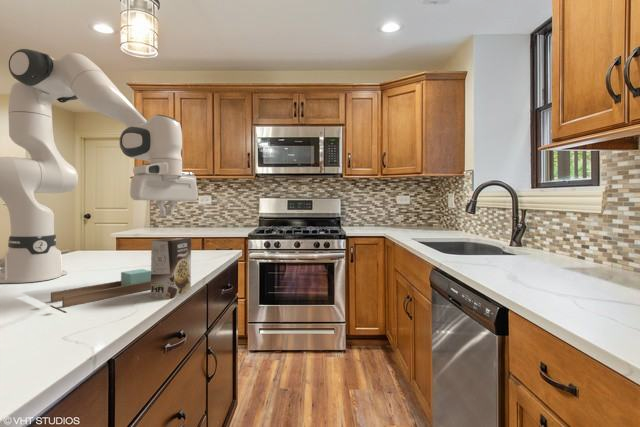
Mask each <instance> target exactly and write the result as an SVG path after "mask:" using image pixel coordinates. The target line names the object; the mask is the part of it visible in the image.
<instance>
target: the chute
mask: <svg viewBox="0 0 640 427" xmlns="http://www.w3.org/2000/svg"><path fill="white" fill-rule="evenodd" d="M148 291H151V281H148V282H142V283H136V284H131V285H125V286H121V280H116V281H113V282H112V281H111V282H106V283H105V282H104V283H100V284H94V285H87V286H82V287H77V288H75V287H74V288H69V289H64V290H57V291H52V292H50V303H52V304H54V303H58V302H62V304H61V305H62V306H61V307H62V308H69V307H73V306H74V307H75V306H80V305H85V304H88V303H93V302H99V301H104V300H108V299H109V300H110V299H113V298H119V297H123V296H128V295H129V296H130V295H133V294H138V293H143V292H148ZM50 307H51V308H53V309H55V310H57V311H60V312H62V313H65V314H66V313H67V311H66V310H62V309H61V308H59V307H56V306H54V305H51V304H50Z"/></svg>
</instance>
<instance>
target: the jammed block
mask: <svg viewBox="0 0 640 427" xmlns="http://www.w3.org/2000/svg"><path fill="white" fill-rule="evenodd" d="M120 281H121V286H125V285H131V284H136V283H142V282H148V281H151V270H149V269H148V270H147V269H145V268H140V269H135V270H134V269H133V270H127V271H126V270H125V271H121V272H120Z"/></svg>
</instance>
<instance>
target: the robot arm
mask: <svg viewBox="0 0 640 427" xmlns="http://www.w3.org/2000/svg"><path fill="white" fill-rule="evenodd" d="M8 71H9V73H10V74H11V76H12V77H13V79H16V80H17V82H15V83H14V84H12V86H11V88H10V93H9V97H8V107H7V108H8V109H7V110H8V136H9V138H10V139H11V141H12V142H13V143H14V144H16V145H17V146H19V147H21V148H23V149H24V150H26V151H27V153H28V154H29V156H30V158H27V157H26V158H25V157H14V156H0V199H1V201H3V202H4V204H5V206H6V208H7V211H8V215H9V220H10V235H9V237H8V241H7V243H8V245H7V247H8V248H7V251H6V252H5V253H4V255H3V257H2V258H0V284H11V283H12V284H15V283H17V284H18V283H19V284H20V283H32V282H33V283H34V282H41V281H47V280H48V281H49V280H53V279H56V278H59V277H61V276H65V275H68V271H67V270H63V262H62V259H63V258H62V251H61V250H60V249H58V248H57V247H56V245H57V235H56V234H55V213H54V212H53V210H52V209H51V208H50V207H48V206H47V205H44V204H42V203H39V202H38V201H37V200H36V197H35V194H36V193H37V194H61V193H62V194H63V193H68V192H72V191H74V190H75V188H76V187H77V185H78V183H79V173H78V171H77V169H76V168H75V167H74V166H73V165H72V164H70V163H69V162H68V161H66V159H65V158H64V157H63V156H62V154H61V153H60V152H59V149H58V148H57V145H56V143H55V136H54V130H53V126H54V125H53V111H52V109H53V108H52V107H53V103H54V102H55V101H56V100H57V101H58V102H60V103H61V104H62V103H66V102H69V101H76V100H79V101H80V102H81V103H82V104H84V106H86V107H87V108H89V109H90V110H91V111H94V112H96V113H98V114H102V115H104V116H106V117H108V118H111V119H114V120H115V121H117V122H120V123H121V124H123V125H125V127H126V128H125V129H123V131H122V132H121V134H120V137H119V147H120V150H121V152H122V153H123V154H124V155H125V156H126V157H129V158H131V159H135V160H140V161H146V162H150V163H145V164H142V165H138V166H134V167H133V168H132V172H133V174H134V175H133V176H132V177H131V181H130V191H129V194H130V198H131V199H132V200H133V201H153V202H154V201H156V206H157V207H158V210H159V211H160V217H172V216H173V215H174V214H173V211H174V209H175V207H176V206H177V202H197V200H198V198H199V195H198V193H199V192H198V185H197V177H196V175H195V174H194V173H193V172H188V171H187V172H186V171H183V157H182V150H183V132H182V126H181V123H180V121H179V120H178V119H176V118H173V117H171V116H167V115H164V114H154V115H152V116H151V117H150V118H149V119H148V118H146V117H145V115H143V113H141V112H140V111H139V110H138V108H136V107H135V106H134V105H133V104H132V103H131V102H130V101H129V99H128V98H127V97H126V96H125V95H124V94H123V93H122V92H121V91H120V90H119V88H118V87H117V86H116V85H115V84H114V83H113V82H112V80H111V79H110V78H109V77H108V76H107V74H106V73H104V71H103V70H102V69H101V68H100V67H99V66H98V65H97V64H96V63H94V62H93V61H92V60H91V59H90V58H88V57H87V56H86V55H83V54H81V53H77V52H71V53H70V52H69V53H67V54H64V55H63V56H62V57H61V58H59V59H58V58H57V59H56V58H54V57H51V56H50V55H49V54H47V53H44V52H40V51H38V50H34V49H28V48H20V49H17V50H15V51H13V53H12V54H11V55H10V57H9V60H8ZM166 202H167V205H168V208H167V209H166V208H165V204H166Z"/></svg>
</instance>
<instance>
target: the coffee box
mask: <svg viewBox="0 0 640 427" xmlns="http://www.w3.org/2000/svg"><path fill="white" fill-rule="evenodd" d="M150 250H151V252H150V253H151V255H150V256H151V260H150V261H151V262H150V271H151V290H150V298H154V299H165V300H167V299H168V300H172V299H175V298H177V297H180V296H182V295H184V294H187V293H189V292H191V291H192V290H191V289H192V288H191V285H192V283H191V281H192V265H191V264H192V238H191V237H167V238H160V239H154V240H153V239H151V249H150Z"/></svg>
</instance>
